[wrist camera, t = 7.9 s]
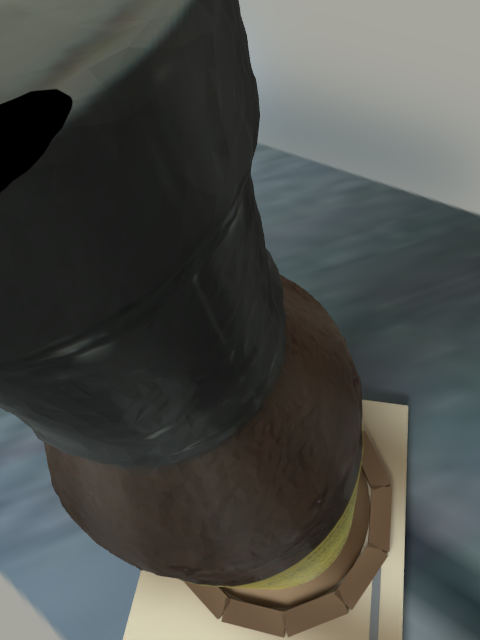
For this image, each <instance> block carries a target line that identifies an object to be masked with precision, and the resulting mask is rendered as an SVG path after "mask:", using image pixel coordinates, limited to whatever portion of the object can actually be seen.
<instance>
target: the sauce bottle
mask: <svg viewBox="0 0 480 640" xmlns="http://www.w3.org/2000/svg"><path fill="white" fill-rule="evenodd" d="M259 119H260V111H259V97H258V91H257V83H256V78H255V76H254V74H253V71H252V68H251V63H250V57H249V50H248V41H247V34H246V31H245V28H244V25H243V21H242V18H241V14H240V7H239V1H238V0H0V408H2V409H3V410H5V411H7V412H10V413H12V414H14V415H15V416H17V417H18V418H19V419H20V420H22V421H23V422H24V423H26V424H27V425H28V426H30V427H31V428H32V430H33V431H34V433H35V434H36V436H37V437H38V439H40V440H42V441H44V445H45V452H46V456H47V462H48V467H49V471H50V475H51V481H52V485H53V488H54V490H55V492H56V493H57V495H58V496H59V498H60V501H61V503H62V506H63V507H64V508H65V510H66V511H67V513H68V514H69V515H70V517H71V518H72V519H73V520H74V521H75V522H76V523H77V524H78V525H79V526H80V527H81V528H82V529H83V530H84V531H85V532H86V533H87V534H88V535H89V536H90V537H91V538H92V539H93V540H94V541H95V542H96V543H97V544H99V545H100V546H102V547H103V548H104V549H106V550H108V551H109V552H110V553H112V554H113V555H115V556H117V557H118V558H120V559H122V560H124V561H125V562H127V563H129V564H131V565H133V566H136V567H137V568H139V569H140V570H144V571H147V572H151V573H154V574H155V575H158V576H163V577H170V578H176V579H179V580H181V581H185V582H188V583H192V584H196V585H200V586H211V587H228V588H248V589H270V590H277V589H284V588H290V587H294V586H298V585H301V584H304V583H306V582H309V581H311V580H313V579H314V578H316V577H317V576H319V575H320V574H321V573H323V572H324V571H325V570H326V569H327V568H328V567H329V566H330V565H331V564H332V563H333V561H334V560H335V559H336V558H337V557H338V555H339V554H340V552H341V550H342V548H343V546H344V545H345V543H346V541H347V538H348V535H349V532H350V529H351V525H352V519H353V513H354V508H355V502H356V497H357V490H358V481H359V476H360V470H361V464H362V457H363V430H362V416H363V414H362V391H361V382H360V379H359V376H358V373H357V371H356V368H355V365H354V362H353V360H352V357H351V354H350V352H349V349H348V346H347V344H346V340H345V338H343V337H342V335H341V334H340V332H339V329H338V328H337V326H336V324H335V323H334V321H333V320H332V318H331V317H330V316H329V314H328V313H327V311H326V310H325V309H324V308H323V307H322V306H321V304H320V303H319V302H318V301H317V300H315V299H314V297H313V296H311V295H310V294H309V293H308V292H306V291H305V290H304V289H302V288H301V287H300V286H299V285H297V284H296V283H294V282H292V281H290V280H288V279H286V278H285V277H284V276H282V275H280V274H279V272H278V269H277V267H276V265H275V263H274V261H273V259H272V257H271V255H270V252H269V251H268V250H267V249H266V247H265V239H264V234H263V228H262V222H261V216H260V214H259V211H258V208H257V204H256V200H255V196H254V187H253V182H252V178H251V165H252V159H253V156H254V152H255V149H256V146H257V138H258V129H259Z"/></svg>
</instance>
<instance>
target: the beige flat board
mask: <svg viewBox="0 0 480 640" xmlns="http://www.w3.org/2000/svg"><path fill="white" fill-rule="evenodd" d="M362 414H363V416H362V430H363V457H362V464H361V470H360V476H359V481H358V490H357V497H356V502H355V508H354V513H353V519H352V525H351V529H350V532H349V535H348V538H347V541H346V543H345V545H344V546H343V548H342V550H341V552H340V554H339V555H338V557H337V558H336V559H335V560H334V561H333V563H332V564H331V565H330V566H329V567H328V568H327V569H326V570H325V571H324V572H323V573H321V574H320V575H319V576H317V577H316V578H314V579H313V580H311V581H309V582H306V583H304V584H301V585H298V586H294V587H290V588H284V589H277V590H270V589H248V588H228V587H211V586H200V585H196V584H192V583H188V582H185V581H181V580H179V579H176V578H170V577H163V576H158V575H155V574H154V573H151V572H147V571H144V570H141V573H140V577H139V581H138V585H137V588H136V592H135V596H134V600H133V603H132V607H131V611H130V615H129V618H128V622H127V626H126V630H125V633H124V637H123V640H402V623H403V586H404V548H405V511H406V473H407V436H408V406H407V405H399V404H391V403H384V402H376V401H368V400H362Z"/></svg>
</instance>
